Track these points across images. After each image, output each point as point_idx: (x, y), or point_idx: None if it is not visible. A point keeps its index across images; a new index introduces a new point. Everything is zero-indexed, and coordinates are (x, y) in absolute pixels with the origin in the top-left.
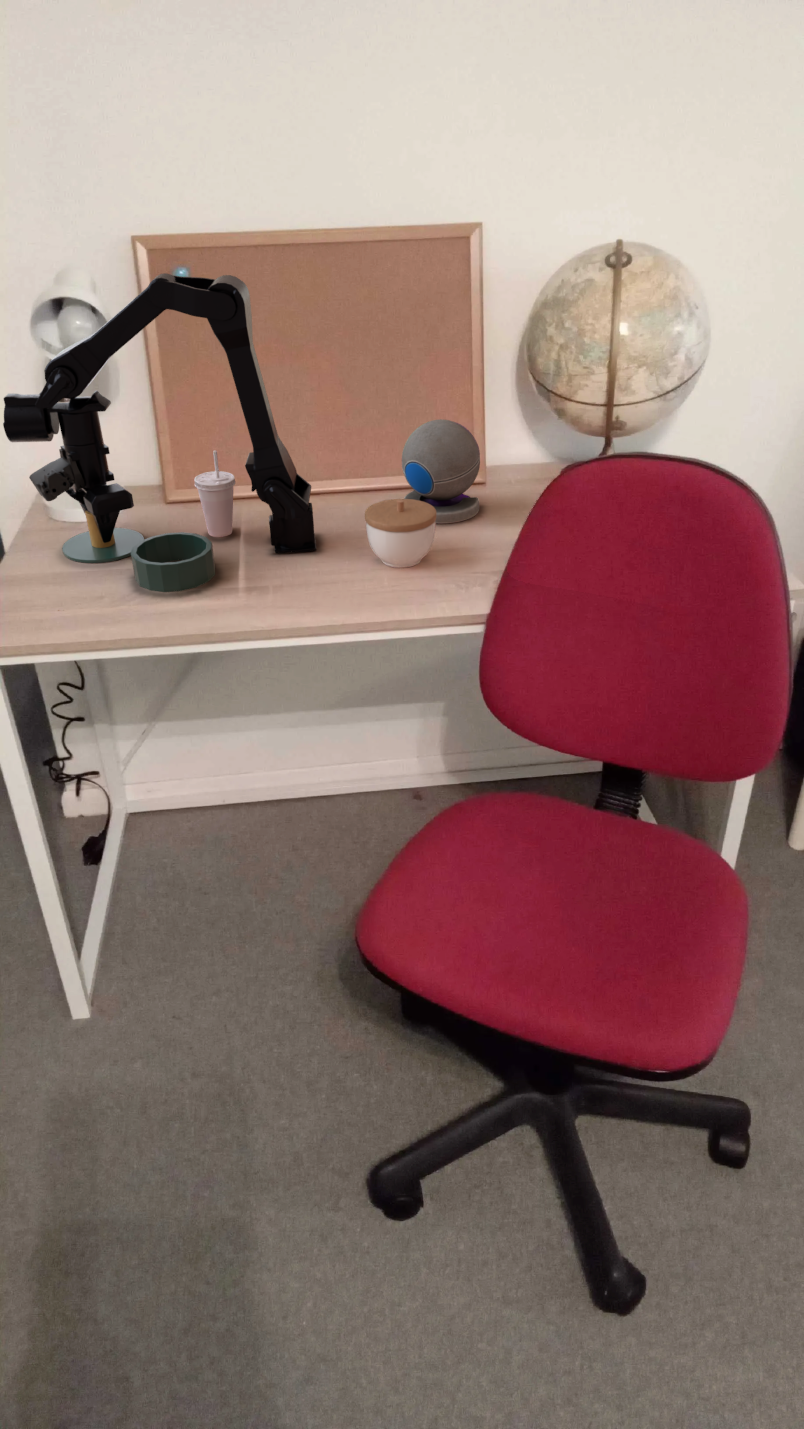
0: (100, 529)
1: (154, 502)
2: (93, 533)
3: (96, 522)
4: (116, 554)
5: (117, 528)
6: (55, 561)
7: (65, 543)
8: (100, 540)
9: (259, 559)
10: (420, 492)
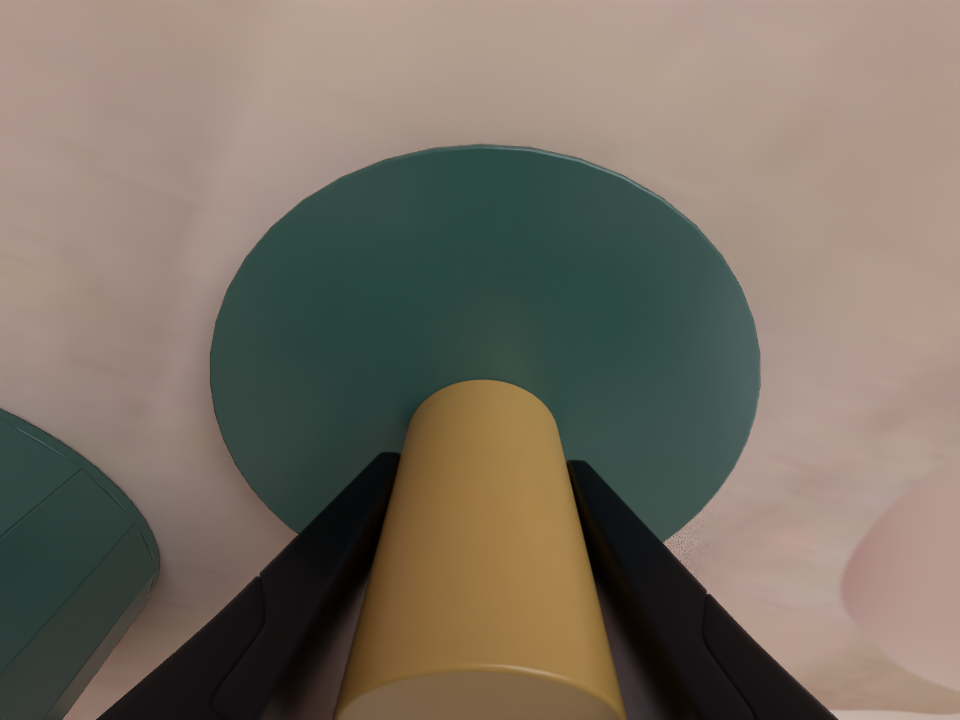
0: (291, 545)
1: None
2: (427, 464)
3: (248, 614)
4: (262, 437)
5: None
6: (528, 47)
7: (690, 240)
8: (404, 448)
9: (96, 703)
10: None
